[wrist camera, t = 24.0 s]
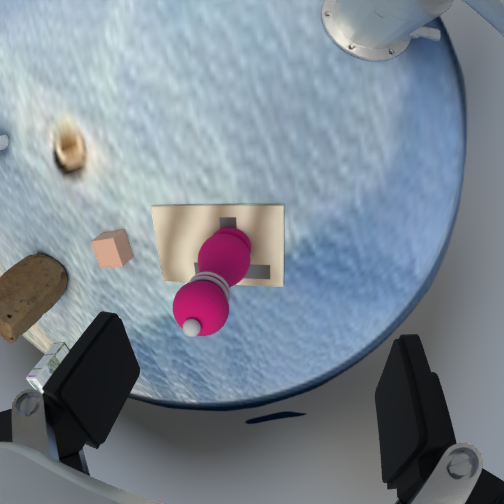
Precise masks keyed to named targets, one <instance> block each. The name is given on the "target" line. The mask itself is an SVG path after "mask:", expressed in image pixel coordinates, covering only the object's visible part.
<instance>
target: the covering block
mask: <svg viewBox="0 0 504 504" xmlns="http://www.w3.org/2000/svg"><path fill="white" fill-rule="evenodd" d="M91 244H92V247H93V250H94V252H95V255H96V258H97V261H98V263H99V266H100V268H110V267H120V266H124V265H125V264H126V263H127V262H128V261H129V260H130V259H131V258H132V257H133V253H132V250H131V247H130V244H129V241H128V238H127V234H126V231H125V229H122V230H116V231H110V232H104V233H102V234H100V235H99V236H98V237H96V238H95V239H94V240H92V241H91Z"/></svg>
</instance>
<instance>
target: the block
mask: <svg viewBox="0 0 504 504" xmlns="http://www.w3.org/2000/svg"><path fill="white" fill-rule="evenodd" d="M66 286H67V276H66V273H65V270H64V268H63V267H62V266H61V264H60V263H59V262H57V261H56V260H55V259H53V258H51V257H47V256H46V255H44V254H36V255H29V256H27V257H26V258H24V259H22V260H21V261H20V262H18V263H17V264H15V265H14V266H13V267H11V268H10V269H9V270H8V271H6V272H5V273H4V274H3V275H2V276H1V277H0V336H1V337H2V338H3V339H4V340H6V341H8V342H10V343H13V342H15V341H16V340H17V338H18V337H19V335H22V334H23V333H25V332H26V331H27V330H28V329H29V328H30V327H31V326H32V325H34V324H35V323H36V322H37V321H38V320H39V319H40V318H41V317H42V315H43V314H44V313H46V312H47V311H48V310H50V309H51V308H52V307H53V306H54V305H55V303H56V302H57V301H58V300H59V299H60V298H61V296H62V295H63V294H64V291H65V289H66Z"/></svg>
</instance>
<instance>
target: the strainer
mask: <svg viewBox="0 0 504 504" xmlns="http://www.w3.org/2000/svg"><path fill="white" fill-rule="evenodd" d="M8 144H9V140H8V137H7V135H1V136H0V150H3V149H6V148H7V147H8Z"/></svg>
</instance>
